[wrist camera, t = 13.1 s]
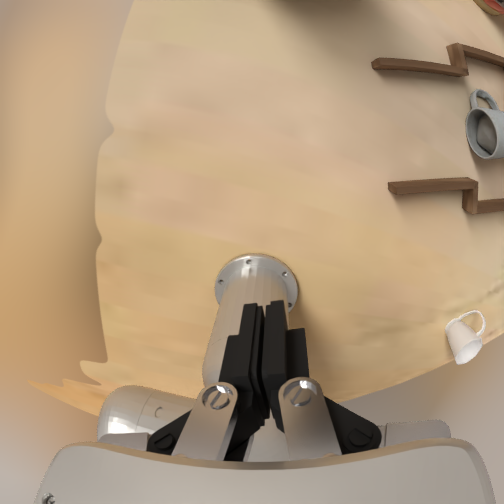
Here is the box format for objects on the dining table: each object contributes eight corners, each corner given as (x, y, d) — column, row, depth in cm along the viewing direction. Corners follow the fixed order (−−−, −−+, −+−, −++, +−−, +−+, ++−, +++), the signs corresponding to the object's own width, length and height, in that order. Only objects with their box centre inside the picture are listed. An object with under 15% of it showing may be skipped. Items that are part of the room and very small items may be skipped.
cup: (433, 334, 45) (448, 361, 38) (464, 296, 41) (484, 321, 34) (449, 342, 46) (464, 367, 39) (479, 307, 42) (497, 331, 34)
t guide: (514, 202, 32) (524, 208, 29) (389, 216, 36) (397, 223, 34) (505, 63, 21) (515, 62, 19) (364, 36, 26) (371, 30, 23)
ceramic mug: (498, 153, 29) (528, 161, 22) (467, 155, 31) (498, 163, 24) (490, 91, 25) (520, 91, 18) (457, 88, 26) (487, 85, 20)
